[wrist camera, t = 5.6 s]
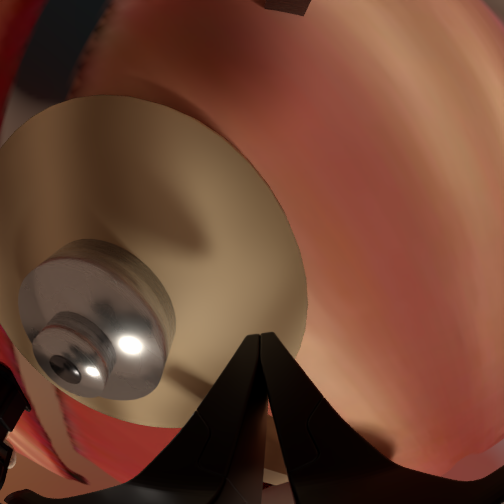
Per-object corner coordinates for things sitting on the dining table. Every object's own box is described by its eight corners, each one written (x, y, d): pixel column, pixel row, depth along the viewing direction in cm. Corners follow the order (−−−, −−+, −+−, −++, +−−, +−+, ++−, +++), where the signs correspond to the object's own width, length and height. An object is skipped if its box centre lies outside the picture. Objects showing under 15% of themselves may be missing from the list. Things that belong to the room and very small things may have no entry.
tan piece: (25, 368, 16) (-2, 410, 11) (-16, 112, 9) (-81, 122, 4) (280, 432, 17) (285, 491, 13) (386, 143, 10) (465, 157, 5)
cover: (60, 344, 13) (26, 393, 9) (39, 227, 10) (-21, 266, 6) (174, 377, 13) (157, 442, 10) (181, 255, 11) (148, 319, 7)
